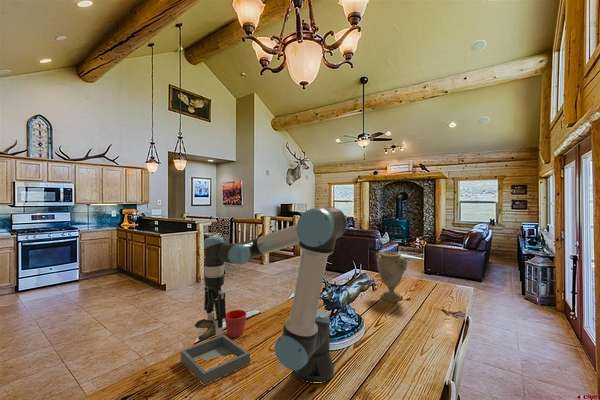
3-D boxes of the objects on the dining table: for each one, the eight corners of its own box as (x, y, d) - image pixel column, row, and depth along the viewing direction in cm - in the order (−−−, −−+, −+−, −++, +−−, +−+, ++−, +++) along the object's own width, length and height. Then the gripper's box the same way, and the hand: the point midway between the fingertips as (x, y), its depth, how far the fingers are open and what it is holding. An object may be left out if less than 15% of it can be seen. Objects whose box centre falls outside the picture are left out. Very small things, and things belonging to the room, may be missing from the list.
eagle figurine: (209, 323, 119) (191, 328, 112) (217, 311, 118) (200, 315, 110) (217, 339, 115) (199, 344, 108) (226, 327, 114) (208, 331, 106)
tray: (250, 364, 114) (249, 353, 114) (203, 386, 101) (203, 374, 101) (223, 344, 130) (223, 334, 130) (180, 361, 116) (180, 350, 116)
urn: (367, 296, 191) (367, 252, 191) (384, 290, 202) (384, 248, 202) (398, 307, 172) (398, 258, 172) (415, 300, 183) (415, 254, 182)
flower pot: (224, 340, 133) (224, 319, 133) (224, 330, 144) (224, 310, 144) (247, 337, 136) (247, 317, 136) (245, 327, 147) (245, 308, 147)
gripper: (235, 278, 110) (235, 337, 111) (211, 269, 125) (212, 321, 125) (217, 282, 105) (217, 344, 106) (195, 272, 119) (195, 326, 120)
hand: (214, 331), depth 115 cm, fingers closed on eagle figurine, 7 cm apart
